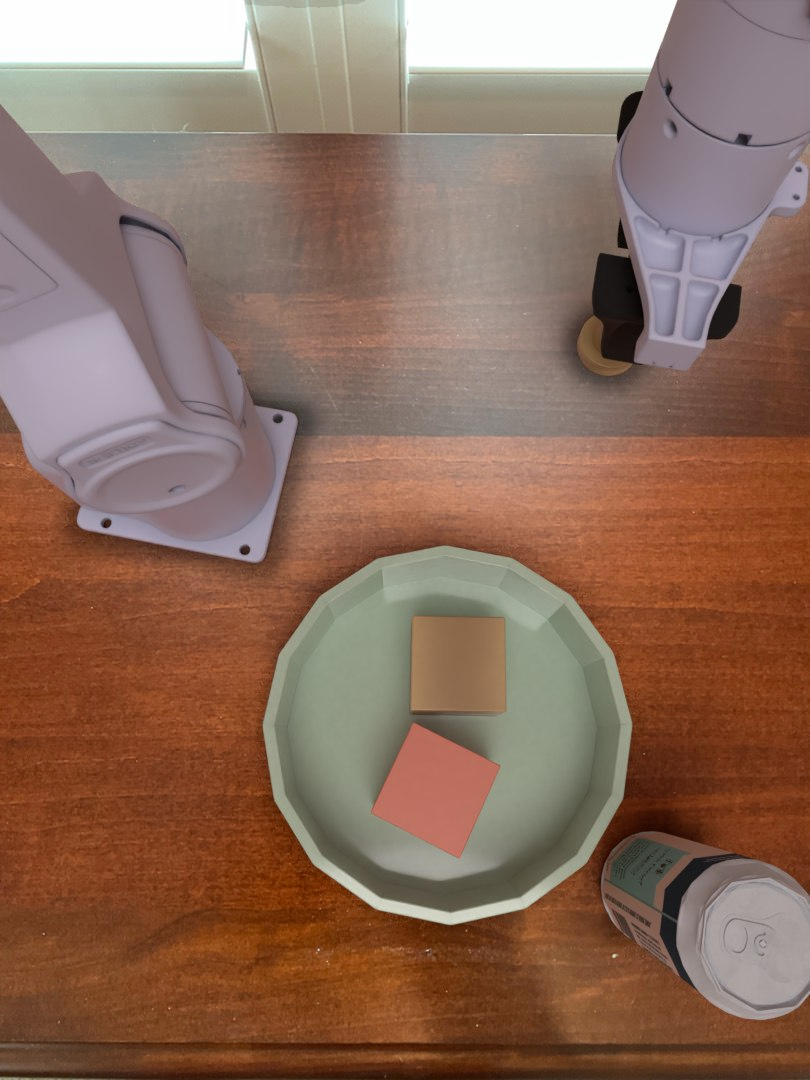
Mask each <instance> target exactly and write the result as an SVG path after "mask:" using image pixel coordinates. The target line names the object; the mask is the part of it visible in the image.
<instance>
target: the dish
mask: <svg viewBox="0 0 810 1080" xmlns="http://www.w3.org/2000/svg"><path fill="white" fill-rule="evenodd" d="M414 615H416V616H466V617H504V618H505V641H506V712H504V713H502V714H499V715H497V716H495V717H491V716H440V715H410V714H409V704H410V646H411V622H412V616H414ZM262 720H263V721H262V726H261V727H262V731H263V732H262V733H263V739H264V746H265V751H266V752H265V753H266V757H267V765H268V772H269V778H270V783H271V784H270V785H271V790H272V797H273V801H274V803H275V804H276V806H277V807H278V809H279V811H280V813H281V814H282V816H283V817H284V820H285V821H286V822H287V824H288V826H289V827H290V829H291V831H292V832H293V834H294V835H295V838H296V840H297V841H298V842H299V845H300V846H301V847H302V848H303V851H304V852H305V854H306V856H307V857H308V859H309V861H310V862H311V864H312V865H314V867H316V868H317V869H318V870H320V871H321V872H323V874H326V875H327V876H328V877H329V878H331V879H332V880H334V881H335V882H336V883H338V884H339V885H341V886H342V887H343V888H345V889H346V890H348V891H349V892H351V894H353V895H355V896H356V897H357V898H358V899H360V900H361V901H363V902H364V903H366V904H367V905H369V906H370V907H371V908H373V909H374V910H376V911H380V912H385V913H389V914H393V915H399V916H404V917H408V918H413V919H418V920H422V921H428V922H432V923H437V924H441V925H446V926H455V925H460V924H464V923H468V922H474V921H477V920H482V919H487V918H492V917H496V916H500V915H505V914H509V913H513V912H514V913H515V912H519V911H524V910H526V909H528V908H529V907H530V906H532V905H533V904H535V903H536V902H537V901H538V900H540V899H541V898H543V897H544V896H545V895H547V894H548V893H549V892H551V891H552V890H554V889H555V888H556V887H557V886H559V885H560V884H561V883H563V882H564V881H566V880H567V879H568V878H569V877H570V876H572V875H573V874H575V873H576V872H577V871H578V870H580V869H581V868H583V867H584V866H585V865H586V864H587V863H588V861H589V860H590V858H591V857H592V854H593V852H594V851H595V849H596V847H597V845H598V844H599V842H600V841H601V839H602V837H603V835H604V834H605V831H606V830H607V828H608V827H609V825H610V823H611V822H612V819H613V818H614V816H615V814H616V812H617V811H618V809H619V807H620V805H621V803H622V802H623V801H624V797H625V790H626V780H627V773H628V764H629V757H630V749H631V742H632V732H633V720H632V716H631V713H630V708H629V704H628V701H627V698H626V693H625V690H624V686H623V682H622V679H621V675H620V671H619V666H618V663H617V660H616V656H615V654H614V651H613V650H612V649H611V647H610V646H609V644H608V642H606V640H605V639H604V637H603V636H602V635H601V633H600V632H599V631H598V629H597V628H596V626H595V625H594V624H593V622H592V621H591V619H590V618H589V617H588V616H587V614H586V613H585V612H584V611H583V609H582V607H581V606H580V604H578V602H577V600H576V599H575V598H574V596H573V595H571V594H570V593H569V592H567V591H565V590H564V589H563V588H561V587H559V586H557V585H556V584H554V583H552V581H550V580H548V579H547V578H545V577H544V576H542V575H541V574H538V573H537V572H535V571H534V570H532V569H531V568H529V567H528V566H526V565H525V564H523V563H521V562H520V561H518V560H517V559H515V558H513V557H510V556H504V555H500V554H494V553H488V552H482V551H478V550H474V549H468V548H462V547H457V546H453V545H447V544H446V545H444V544H443V545H439V546H433V547H429V548H423V549H418V550H412V551H408V552H403V553H396V554H393V555H388V556H387V555H386V556H381V557H378V558H375V559H374V560H373V561H371V562H370V563H368V564H366V565H365V566H363V567H362V568H360V569H359V570H357V571H356V572H353V573H352V574H351V575H349V576H348V577H346V578H345V579H343V580H342V581H340V582H338V583H337V584H336V585H334V586H332V587H331V588H329V589H328V590H326V591H325V592H323V593H322V594H320V595H319V596H318V598H317V599H316V600H315V602H314V603H313V605H311V607H310V609H309V610H308V612H307V613H306V614H305V616H304V617H303V619H302V620H301V622H300V623H299V625H298V627H296V629H295V631H294V632H293V633H292V635H291V636H290V637H289V639H288V640H287V641H286V643H285V644H284V646H283V648H282V649H281V650H280V651H279V654H278V655H277V660H276V665H275V668H274V673H273V676H272V681H271V685H270V690H269V694H268V699H267V703H266V708H265V712H264V716H263V719H262ZM413 722H415V723H417V724H419V725H421V726H423V727H425V728H427V729H429V730H431V731H433V732H435V733H437V734H439V735H441V736H443V737H445V738H447V739H449V740H451V741H453V742H455V743H457V744H459V745H461V746H463V747H465V748H467V749H469V750H471V751H473V752H475V753H477V754H479V755H481V756H483V757H485V758H487V759H489V760H490V761H492V762H494V763H496V764H498V765H500V769H499V771H498V774H497V776H496V778H495V780H494V783H493V785H492V787H491V789H490V792H489V794H488V796H487V798H486V801H485V803H484V805H483V807H482V810H481V812H480V814H479V816H478V819H477V821H476V823H475V825H474V828H473V830H472V832H471V834H470V837H469V839H468V841H467V843H466V846H465V848H464V850H463V852H462V855H461V857H460V858H457V857H455V856H453V855H451V854H449V853H447V852H445V851H443V850H441V849H439V848H437V847H435V846H434V845H432V844H430V843H428V842H426V841H424V840H422V839H420V838H418V837H416V836H414V835H412V834H410V833H408V832H406V831H404V830H403V829H401V828H399V827H397V826H395V825H393V824H391V823H389V822H387V821H385V820H383V819H381V818H379V817H377V816H375V815H373V814H372V813H371V810H372V808H373V805H374V803H375V801H376V799H377V797H378V795H379V793H380V791H381V789H382V787H383V784H384V782H385V780H386V778H387V776H388V774H389V772H390V770H391V768H392V766H393V763H394V761H395V759H396V757H397V755H398V753H399V751H400V749H401V747H402V745H403V742H404V740H405V738H406V736H407V734H408V732H409V730H410V728H411V726H412V724H413Z"/></svg>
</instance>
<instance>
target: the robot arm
mask: <svg viewBox="0 0 810 1080" xmlns="http://www.w3.org/2000/svg"><path fill="white" fill-rule="evenodd" d="M646 80H647V81H646V82H645V83H646V84H645V85H644V89H643V90H638V91H634V92H632V93H630V94H628V95H627V96H626V97H625V99H624V100H623V101H622V103H621V107H620V110H619V118H618V125H617V130H616V142H617V146H616V150H615V152H614V156H613V158H612V163H611V169H610V170H611V171H610V172H611V185H612V190H613V195H614V198H615V203H616V206H617V210H618V214H619V220H618V226H617V235H616V241H617V248H618V249H622V250H628V255H629V254H630V258H628V256H621V255H617V254H616V255H615V254H612V253H611V254H610V253H606V252H605V253H604V252H599V254H598V256H597V259H596V264H595V270H594V271H595V272H594V279H593V285H592V290H591V304H592V313H593V316H594V315H595V316H596V317H597V318H598V319H599V320H600V321H602V324H603V332H602V339H601V355H602V357H603V358H604V359H610V360H615V361H621V362H626V363H632V365H633V364H634V365H638V366H643V365H645V366H651V367H654V368H661V369H667V370H674V371H680V372H688V371H690V369H691V368H692V366H693V364H694V363H695V361H696V360H697V359H698V358H699V356H700V355H701V354H702V353H703V351H704V350H705V349H706V346H707V341H711V340H713V341H714V340H716V341H717V340H718V341H719V340H723V339H725V338H726V337H727V336H728V335H729V334H730V333H731V332H732V330H733V329H735V326H736V325H737V323H738V321H739V317H740V311H741V301H742V291H743V286H742V285H740V284H736V283H731V282H732V280H733V279H734V277H735V276H736V273H737V271H738V270H739V268H740V266H741V264H742V262H743V261H744V260H745V258H746V256H747V254H748V252H749V251H750V248H751V247H752V246H753V243H754V242H755V240H756V238H757V236H758V235H759V233H760V231H761V229H762V228H763V226H764V225H765V223H766V221H767V219H769V218H771V217H779V218H780V217H781V218H793V217H794V216H796V215H798V214H799V212H800V211H801V210H802V208H803V207H804V206H805V204H806V201H807V199H808V188H809V178H810V172H809V166H808V165H806V164H805V162H803V161H802V160H799V159H800V158H801V156H802V155H803V153H804V151H805V150H806V149H807V147H808V146H809V144H810V0H676V3H675V5H674V8H673V11H672V13H671V16H670V19H669V22H668V24H667V27H666V30H665V32H664V35H663V38H662V40H661V43H660V45H659V47H658V51H657V53H656V55H655V59H654V61H653V64H652V67H651V69H650V72H649V75H648V78H647V79H646ZM188 262H189V261H188V259H187V255H186V251H185V245H184V242H183V240H182V237H181V235H180V234H179V232H178V231H177V230H176V228H175V227H174V226H172V225H171V224H170V223H169V222H168V221H167V220H165V218H163V217H161V216H159V215H157V214H156V213H154V212H152V211H151V212H150V211H148V210H145V209H143V208H140V207H139V206H135V205H133V204H131V203H130V202H129V201H126V200H124V199H123V198H122V197H120V196H119V195H117V194H116V193H115V192H114V191H113V190H112V188H111V187H109V185H108V184H107V183H106V182H105V181H104V179H103V178H102V177H101V175H100V174H99V173H97V172H96V171H93V170H87V171H86V170H85V171H78V172H71V173H65V174H63V173H62V172H61V171H60V170H59V169H58V167H57V166H56V165H55V164H54V163H53V162H52V161H51V160H50V159H49V158H48V156H47V155H46V153H44V152H43V150H42V149H41V148H40V147H39V146H38V145H37V144H36V142H35V141H34V140H33V139H32V138H31V137H30V136H29V134H27V132H26V131H25V130H24V129H23V127H21V126H20V124H18V122H17V121H16V120H15V119H14V118H13V116H11V114H10V113H9V112H8V111H7V110H6V108H4V107H3V105H2V104H1V103H0V398H1V400H2V402H3V404H4V405H5V407H6V409H7V411H8V413H9V414H10V416H11V418H12V420H13V422H14V423H15V426H16V427H17V429H18V432H20V437H21V443H22V448H23V451H24V455H25V456H26V460H27V461H28V463H29V464H30V466H31V467H32V469H33V470H34V471H35V472H37V473H38V474H39V475H41V476H42V477H43V478H45V479H46V481H48V482H49V483H50V484H52V485H53V486H55V487H56V488H57V489H58V490H60V491H61V492H62V493H64V495H66V496H67V497H68V498H70V499H71V500H72V501H74V502H75V503H76V504H77V505H78V506H80V507H79V510H78V513H77V517H76V523H77V524H76V525H77V526H78V527H79V528H80V529H81V530H83V531H86V532H92V533H97V534H102V535H107V536H111V537H116V538H122V539H127V540H132V541H138V542H143V543H148V544H154V545H158V546H164V547H169V548H174V549H179V550H184V551H189V552H194V553H200V554H204V555H210V556H214V557H220V558H225V559H231V560H234V561H235V560H237V561H242V562H245V563H251V564H259V563H261V562H263V561H264V560H265V558H266V555H267V553H268V549H269V545H270V541H271V535H272V533H273V528H274V523H275V520H276V516H277V512H278V509H279V508H278V507H279V503H280V499H281V495H282V491H283V488H284V482H285V480H286V479H285V478H286V476H287V471H288V467H289V463H290V459H291V455H292V450H293V446H294V442H295V438H296V434H297V429H298V426H299V420H298V417H297V415H296V414H295V413H294V412H292V411H289V410H284V409H283V410H282V409H278V408H272V407H266V406H261V405H255V403H254V402H253V399H252V397H251V394H250V392H249V390H248V387H247V385H246V383H245V380H244V378H243V375H242V372H241V371H240V367H239V366H238V364H237V361H236V358H235V357H234V355H233V354H232V353H231V351H230V350H229V348H228V347H227V346H226V345H225V343H223V341H222V340H221V339H220V338H219V337H217V335H215V333H213V332H212V331H211V330H210V329H208V328H207V327H206V325H205V322H204V320H203V317H202V313H201V310H200V306H199V303H198V301H197V297H196V293H195V291H194V287H193V284H192V282H191V279H190V275H189V272H188V269H187V267H188ZM277 418H282V420H281V422H278V423H277V422H275V419H277ZM107 521H111V522H110V523H111V524H110V525H109V526H108V527H104V525H105V523H106V522H107ZM246 547H248V548H249V552H248V553H247V554H242V550H243V548H246Z"/></svg>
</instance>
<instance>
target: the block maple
mask: <svg viewBox="0 0 810 1080" xmlns="http://www.w3.org/2000/svg"><path fill="white" fill-rule="evenodd" d="M504 712H506V641H505V618H504V617H466V616H416V615H414V616H412V622H411V646H410V704H409V714H410V715H440V716H491V717H495V716H497V715H499V714H502V713H504Z"/></svg>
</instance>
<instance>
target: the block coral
mask: <svg viewBox="0 0 810 1080" xmlns="http://www.w3.org/2000/svg"><path fill="white" fill-rule="evenodd" d="M499 769H500V765H498V764H496V763H494V762H492V761H490V760H489V759H487V758H485V757H483V756H481V755H479V754H477V753H475V752H473V751H471V750H469V749H467V748H465V747H463V746H461V745H459V744H457V743H455V742H453V741H451V740H449V739H447V738H445V737H443V736H441V735H439V734H437V733H435V732H433V731H431V730H429V729H427V728H425V727H423V726H421V725H419V724H417V723H415V722H413V724H412V726H411V728H410V730H409V732H408V734H407V736H406V738H405V740H404V742H403V745H402V747H401V749H400V751H399V753H398V755H397V757H396V759H395V761H394V763H393V766H392V768H391V770H390V772H389V774H388V776H387V778H386V780H385V782H384V784H383V787H382V789H381V791H380V793H379V795H378V797H377V799H376V801H375V803H374V805H373V808H372V810H371V813H372V814H373V815H375V816H377V817H379V818H381V819H383V820H385V821H387V822H389V823H391V824H393V825H395V826H397V827H399V828H401V829H403V830H404V831H406V832H408V833H410V834H412V835H414V836H416V837H418V838H420V839H422V840H424V841H426V842H428V843H430V844H432V845H434V846H435V847H437V848H439V849H441V850H443V851H445V852H447V853H449V854H451V855H453V856H455V857H457V858H460V857H461V855H462V852H463V850H464V848H465V846H466V843H467V841H468V839H469V837H470V834H471V832H472V830H473V828H474V825H475V823H476V821H477V819H478V816H479V814H480V812H481V810H482V807H483V805H484V803H485V801H486V798H487V796H488V794H489V792H490V789H491V787H492V785H493V783H494V780H495V778H496V776H497V774H498V771H499Z"/></svg>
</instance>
